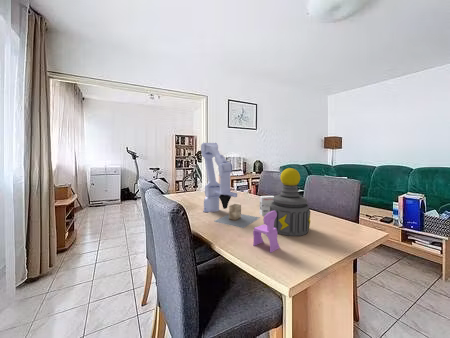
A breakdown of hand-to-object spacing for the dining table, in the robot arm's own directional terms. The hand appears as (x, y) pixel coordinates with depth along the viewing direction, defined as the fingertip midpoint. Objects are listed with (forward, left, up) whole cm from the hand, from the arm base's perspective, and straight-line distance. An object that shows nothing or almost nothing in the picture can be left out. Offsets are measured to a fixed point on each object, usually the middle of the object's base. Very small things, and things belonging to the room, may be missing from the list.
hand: (225, 208), depth 120 cm
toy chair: (+33, -21, -6) cm, 40 cm away
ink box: (+18, +18, -6) cm, 26 cm away
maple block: (+6, 0, -5) cm, 8 cm away
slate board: (+8, 0, -6) cm, 10 cm away
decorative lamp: (+35, +3, -6) cm, 36 cm away
